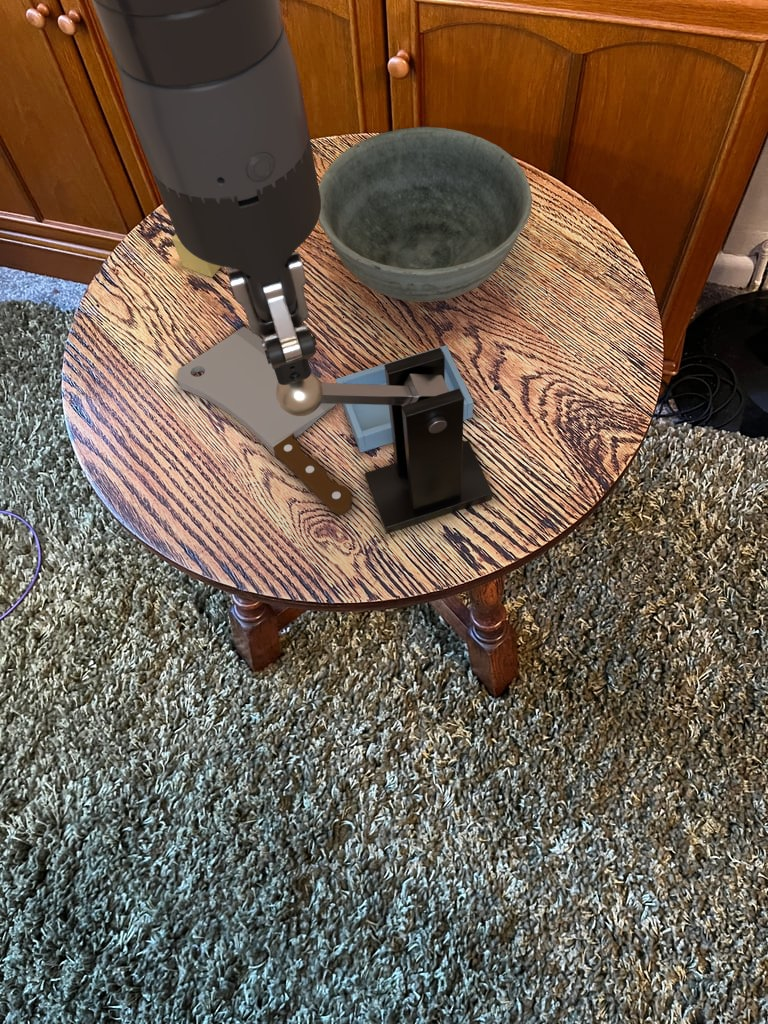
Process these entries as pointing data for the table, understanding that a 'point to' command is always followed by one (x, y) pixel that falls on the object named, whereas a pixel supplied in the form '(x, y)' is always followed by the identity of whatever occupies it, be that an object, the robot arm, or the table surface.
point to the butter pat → (193, 260)
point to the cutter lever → (356, 393)
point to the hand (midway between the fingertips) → (293, 373)
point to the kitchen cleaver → (261, 408)
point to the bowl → (424, 211)
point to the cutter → (426, 454)
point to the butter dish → (375, 419)
